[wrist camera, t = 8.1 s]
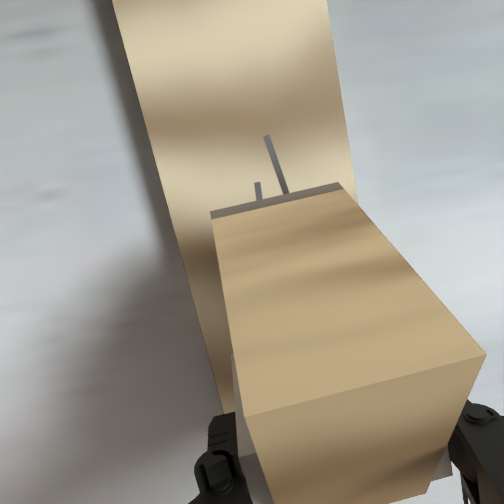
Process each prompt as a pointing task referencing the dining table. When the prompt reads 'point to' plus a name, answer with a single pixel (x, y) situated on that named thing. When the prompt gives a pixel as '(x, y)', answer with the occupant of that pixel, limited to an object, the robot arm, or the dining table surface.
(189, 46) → the board
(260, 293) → the block
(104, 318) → the dining table surface
